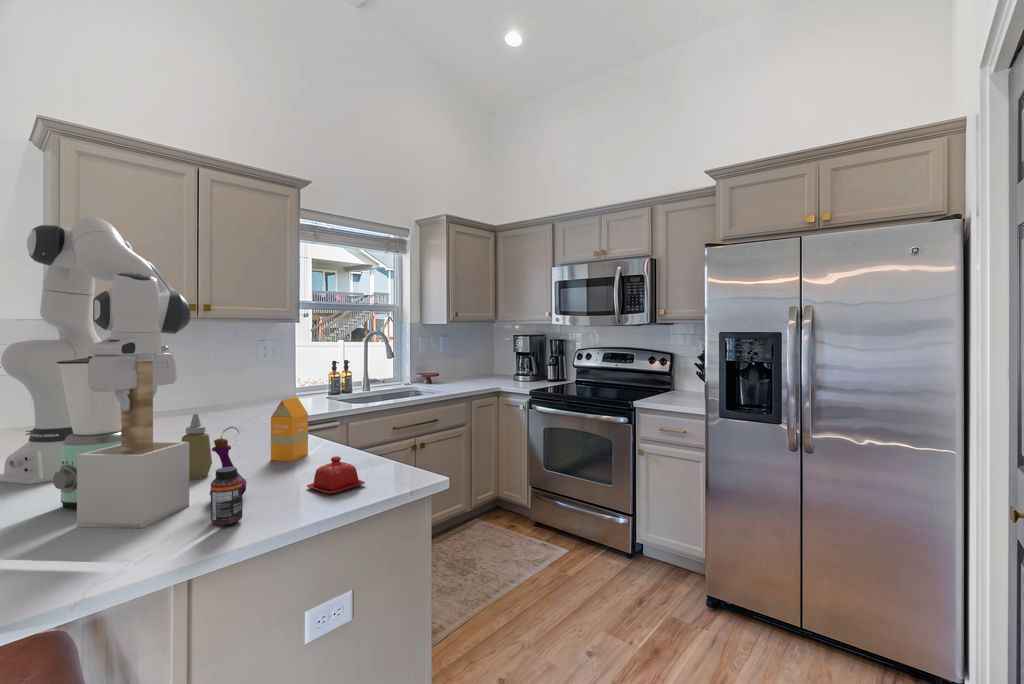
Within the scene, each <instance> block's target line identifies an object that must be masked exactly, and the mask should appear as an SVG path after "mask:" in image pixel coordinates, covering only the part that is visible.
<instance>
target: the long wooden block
mask: <svg viewBox="0 0 1024 684" xmlns="http://www.w3.org/2000/svg"><path fill="white" fill-rule="evenodd" d="M136 370H137V388H134V389H129V394H127V396H128V398H129V400H130V402H133V409H132V410H127V411H121V454H128V455H141V454H145V453H148V452H152V451H153V441H154V398H153V361H140V362H137V363H136Z"/></svg>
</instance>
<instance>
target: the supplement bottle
mask: <svg viewBox="0 0 1024 684" xmlns="http://www.w3.org/2000/svg"><path fill="white" fill-rule="evenodd" d="M237 472H238V468H237V467H235V466H234V467H223V468H222V467H220V468H218V469H216V470H215V478H214V479H213V480H212V481H211V482H210V491H211V495H210V523H211V524H212V525H214V526H229V525H232V524H236V523H237V522H239V521H241V520H242V518H243V495H242V479H241V478H240V477H238V475H237Z"/></svg>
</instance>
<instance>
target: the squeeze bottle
mask: <svg viewBox="0 0 1024 684" xmlns="http://www.w3.org/2000/svg"><path fill="white" fill-rule="evenodd" d="M191 418H192V419H191V420H190V421H191V422H190V426H186V427H185V435H182V437H181V441H180V442H189V481H190V480H192V481H193V480H199V479H203V478H207V477H208V476H209V473H210V470H211V467H212V465H213V459H212V448H211V441H210V434H208V433H207V432H206V425H202V424H201V421H200V416H199V413H193V414H192V417H191Z"/></svg>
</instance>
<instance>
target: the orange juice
mask: <svg viewBox="0 0 1024 684" xmlns="http://www.w3.org/2000/svg"><path fill="white" fill-rule="evenodd" d="M307 455H309V413H308V412H307V410H306V408H305V407H304V405H303V403H302V402H301V400H300V399H299V397H298V396H296V397H290V398H287V399H281V401H280V402H279V404H278V406H277V408H276V409H275V410H274V411H273V414H272V415H271V416H270V461H280V462H281V461H283V462H294V461H295V460H296V461H297V460H298V459H300V458H302V457H305V456H307Z"/></svg>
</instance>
